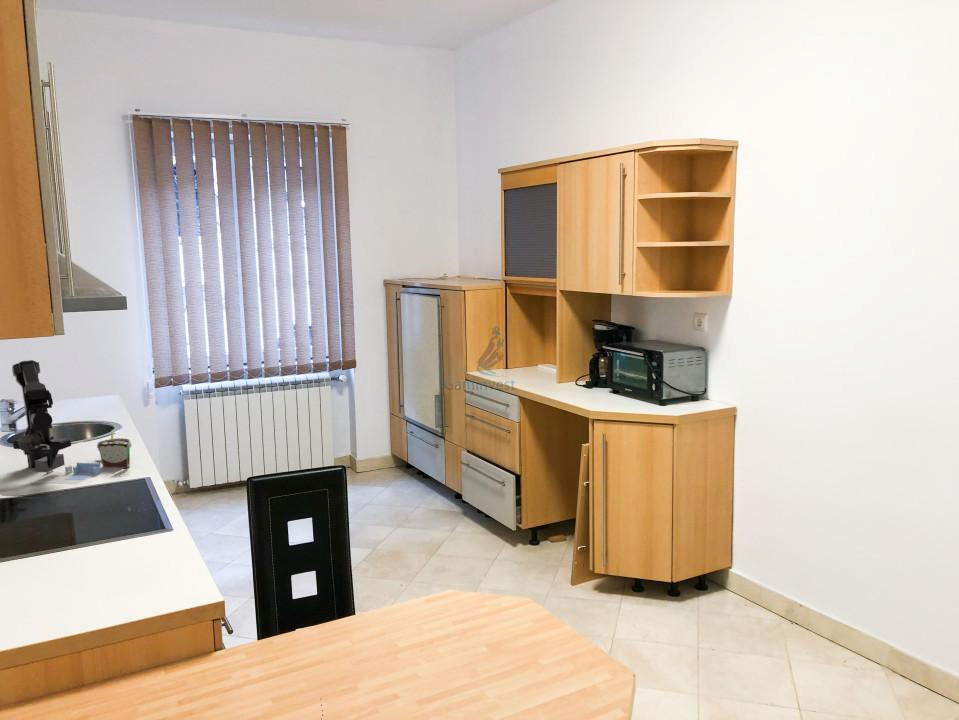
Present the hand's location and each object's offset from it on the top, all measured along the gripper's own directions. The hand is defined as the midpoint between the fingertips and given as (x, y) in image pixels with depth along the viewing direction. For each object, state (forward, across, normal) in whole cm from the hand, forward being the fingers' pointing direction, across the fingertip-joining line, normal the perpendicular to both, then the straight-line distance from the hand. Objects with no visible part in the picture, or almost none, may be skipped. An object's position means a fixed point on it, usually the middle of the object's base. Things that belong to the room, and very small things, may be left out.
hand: (45, 467), depth 269 cm
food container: (+5, +15, +19) cm, 25 cm away
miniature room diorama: (+5, +5, +2) cm, 7 cm away
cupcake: (+5, +5, +28) cm, 29 cm away
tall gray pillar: (+1, 0, +2) cm, 3 cm away
